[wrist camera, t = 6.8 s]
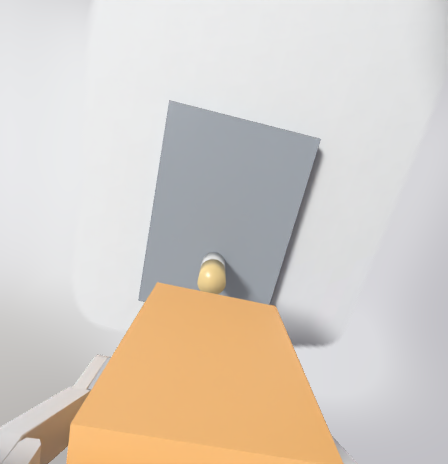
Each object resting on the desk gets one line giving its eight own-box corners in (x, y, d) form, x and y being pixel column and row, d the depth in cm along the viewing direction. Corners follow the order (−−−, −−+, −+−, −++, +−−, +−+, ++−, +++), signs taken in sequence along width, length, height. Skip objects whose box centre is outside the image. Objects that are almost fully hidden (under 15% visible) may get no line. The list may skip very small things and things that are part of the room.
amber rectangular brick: (157, 282, 12) (70, 424, 5) (275, 306, 12) (345, 467, 5) (139, 381, 13) (53, 598, 6) (246, 400, 14) (272, 620, 7)
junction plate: (172, 105, 21) (154, 79, 16) (314, 141, 22) (347, 129, 16) (143, 293, 26) (120, 327, 20) (260, 316, 27) (271, 355, 21)
